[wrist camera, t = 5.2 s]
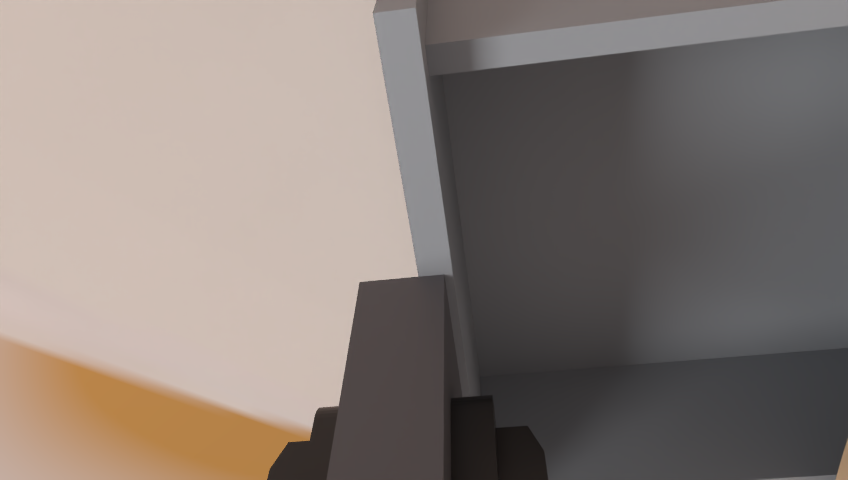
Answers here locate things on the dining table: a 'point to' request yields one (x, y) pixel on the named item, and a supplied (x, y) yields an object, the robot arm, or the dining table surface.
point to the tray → (612, 239)
